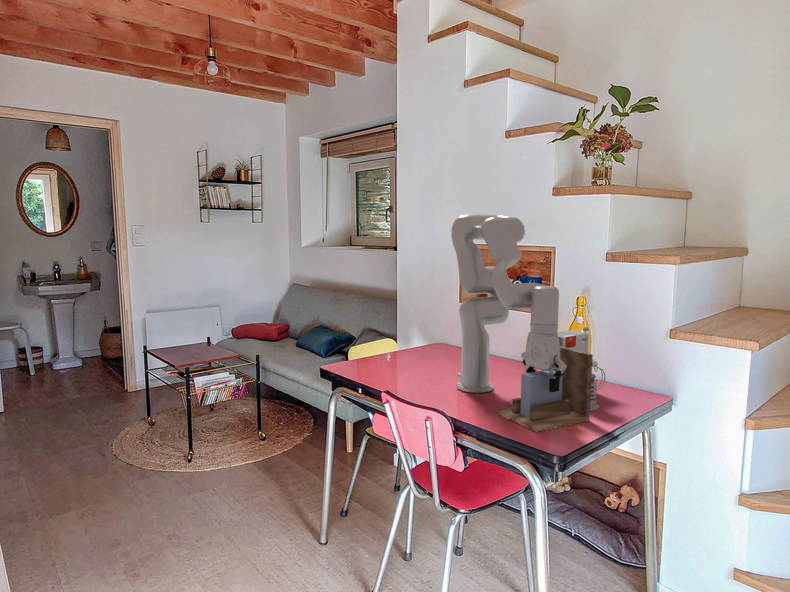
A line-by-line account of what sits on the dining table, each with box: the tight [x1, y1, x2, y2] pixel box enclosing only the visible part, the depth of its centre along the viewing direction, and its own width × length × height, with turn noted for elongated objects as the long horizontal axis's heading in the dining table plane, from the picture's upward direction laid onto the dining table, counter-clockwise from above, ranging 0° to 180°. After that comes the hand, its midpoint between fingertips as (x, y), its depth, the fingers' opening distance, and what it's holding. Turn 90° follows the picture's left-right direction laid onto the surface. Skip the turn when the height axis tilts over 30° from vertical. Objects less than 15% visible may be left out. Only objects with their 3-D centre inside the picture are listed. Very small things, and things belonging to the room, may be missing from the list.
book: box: [520, 370, 563, 418], centre depth 155 cm, size 4×12×12 cm, turn 118°
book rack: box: [498, 346, 593, 433], centre depth 155 cm, size 16×20×20 cm
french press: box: [582, 326, 606, 411], centre depth 167 cm, size 10×12×25 cm
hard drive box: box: [541, 330, 590, 371], centre depth 183 cm, size 16×8×20 cm, turn 126°
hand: (542, 387), depth 155 cm, fingers open, 9 cm apart
